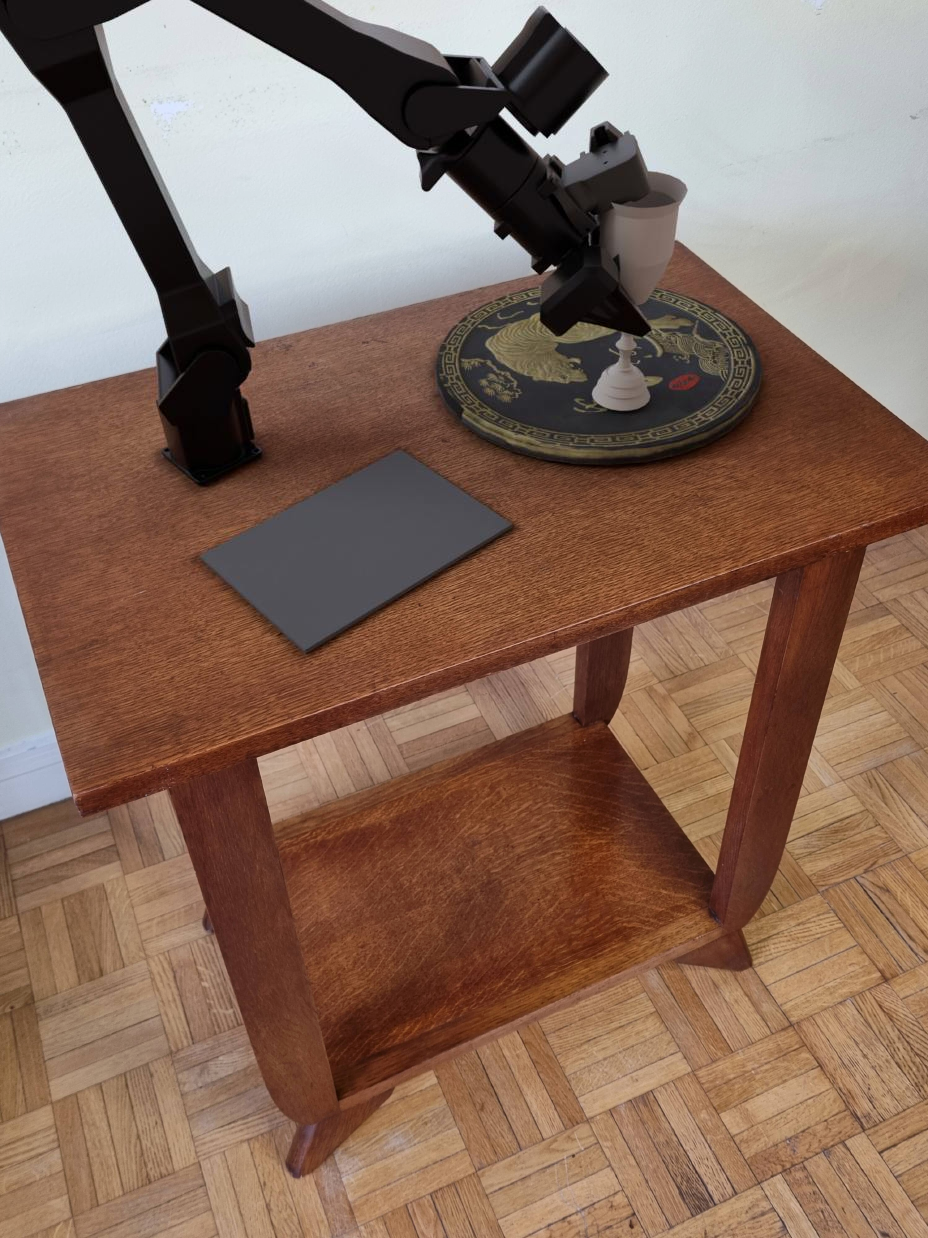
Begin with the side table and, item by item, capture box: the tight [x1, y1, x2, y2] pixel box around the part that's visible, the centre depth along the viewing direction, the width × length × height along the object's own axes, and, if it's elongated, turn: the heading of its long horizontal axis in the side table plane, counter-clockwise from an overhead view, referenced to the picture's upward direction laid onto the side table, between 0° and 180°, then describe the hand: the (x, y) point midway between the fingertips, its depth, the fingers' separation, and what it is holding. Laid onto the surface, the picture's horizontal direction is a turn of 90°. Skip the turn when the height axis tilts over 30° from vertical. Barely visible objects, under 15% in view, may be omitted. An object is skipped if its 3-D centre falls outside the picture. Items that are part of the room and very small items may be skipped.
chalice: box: [592, 170, 688, 411], centre depth 89 cm, size 7×7×18 cm
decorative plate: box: [434, 285, 764, 466], centre depth 101 cm, size 30×2×30 cm
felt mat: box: [199, 448, 513, 654], centre depth 85 cm, size 20×14×1 cm
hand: (645, 314), depth 90 cm, fingers closed on chalice, 5 cm apart
